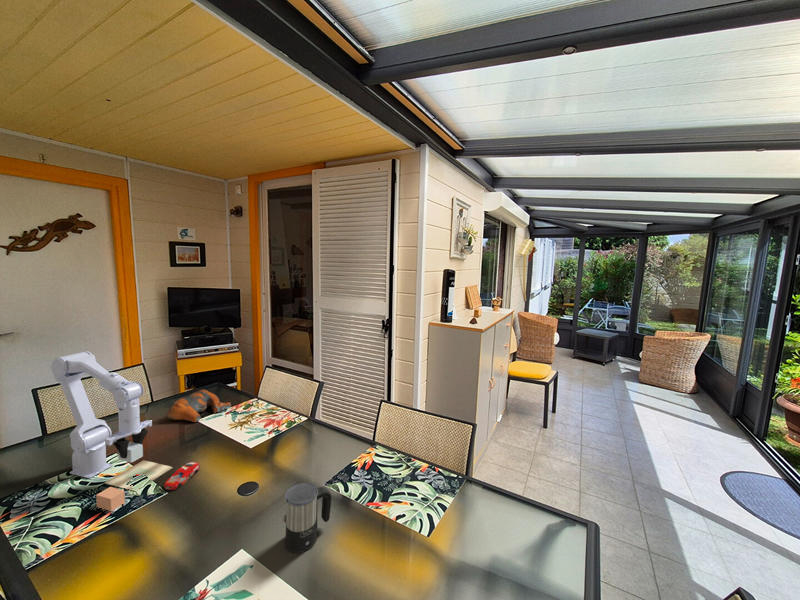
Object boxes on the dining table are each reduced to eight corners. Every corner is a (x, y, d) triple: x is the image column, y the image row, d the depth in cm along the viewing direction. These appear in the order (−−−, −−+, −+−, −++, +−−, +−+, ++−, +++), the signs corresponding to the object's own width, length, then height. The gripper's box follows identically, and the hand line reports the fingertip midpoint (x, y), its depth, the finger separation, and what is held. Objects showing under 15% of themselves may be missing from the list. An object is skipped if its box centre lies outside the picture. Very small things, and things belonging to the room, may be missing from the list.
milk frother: (298, 559, 90) (299, 509, 88) (262, 532, 98) (263, 486, 96) (334, 526, 101) (336, 482, 100) (300, 504, 110) (301, 463, 108)
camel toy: (161, 420, 157) (189, 432, 153) (170, 392, 159) (198, 404, 154) (203, 411, 181) (228, 421, 176) (211, 387, 182) (236, 397, 178)
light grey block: (118, 459, 115) (117, 447, 115) (130, 453, 119) (129, 441, 119) (131, 462, 114) (131, 450, 113) (142, 456, 118) (142, 444, 117)
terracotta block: (96, 508, 103) (96, 494, 103) (110, 499, 107) (110, 486, 107) (111, 512, 102) (111, 499, 102) (124, 503, 106) (124, 490, 105)
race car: (174, 493, 112) (173, 482, 112) (160, 491, 113) (159, 480, 112) (202, 469, 125) (202, 460, 124) (190, 467, 126) (190, 458, 125)
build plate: (104, 483, 114) (104, 482, 114) (143, 460, 128) (143, 460, 128) (135, 491, 111) (135, 491, 111) (172, 467, 125) (172, 467, 125)
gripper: (115, 429, 107) (117, 468, 109) (158, 410, 121) (158, 445, 123) (99, 425, 109) (101, 463, 110) (143, 407, 123) (144, 442, 124)
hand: (130, 453), depth 116 cm, fingers closed on light grey block, 4 cm apart
